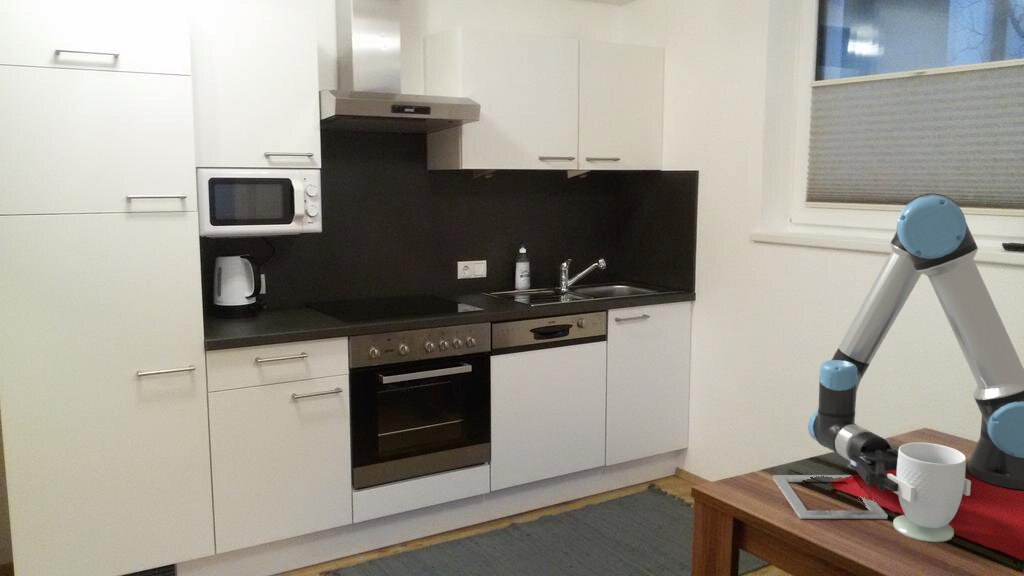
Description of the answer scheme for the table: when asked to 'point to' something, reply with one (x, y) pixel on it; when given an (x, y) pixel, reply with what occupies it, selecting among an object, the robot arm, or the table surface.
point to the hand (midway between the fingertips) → (941, 491)
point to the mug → (931, 482)
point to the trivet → (922, 530)
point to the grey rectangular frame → (803, 513)
